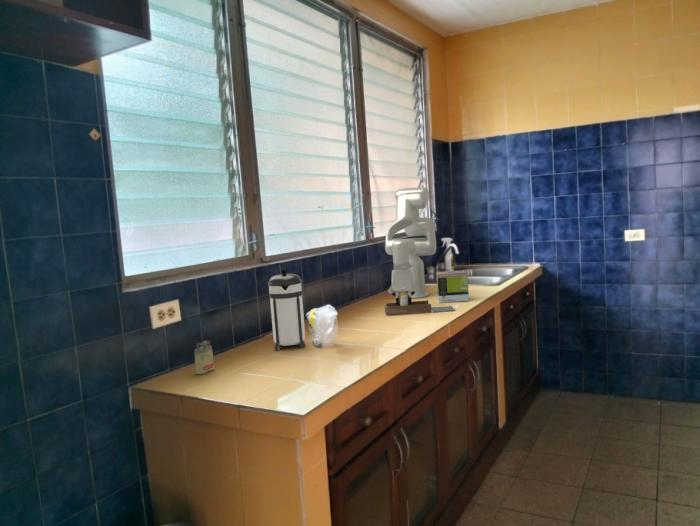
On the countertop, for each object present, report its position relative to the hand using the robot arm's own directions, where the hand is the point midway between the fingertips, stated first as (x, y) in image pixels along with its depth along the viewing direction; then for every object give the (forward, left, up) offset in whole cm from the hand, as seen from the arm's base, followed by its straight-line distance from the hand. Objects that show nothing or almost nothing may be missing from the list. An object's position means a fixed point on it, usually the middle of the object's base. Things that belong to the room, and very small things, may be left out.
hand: (403, 305), depth 258 cm
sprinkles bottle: (0, 0, -4) cm, 4 cm away
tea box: (-22, +27, -4) cm, 35 cm away
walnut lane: (0, +2, -3) cm, 4 cm away
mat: (0, +18, -3) cm, 18 cm away
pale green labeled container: (+76, -74, -4) cm, 106 cm away
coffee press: (+48, -49, -4) cm, 69 cm away
